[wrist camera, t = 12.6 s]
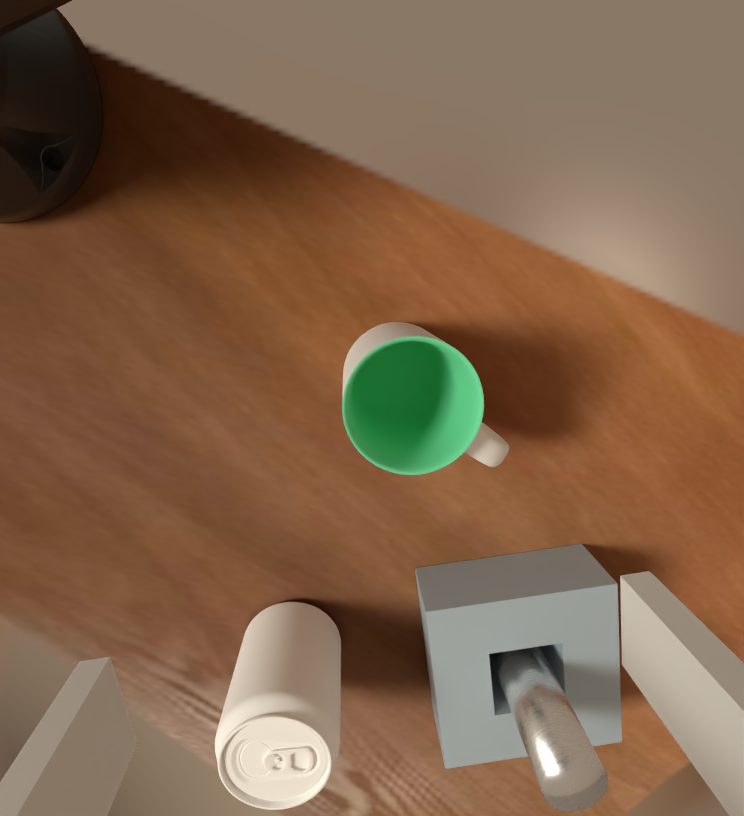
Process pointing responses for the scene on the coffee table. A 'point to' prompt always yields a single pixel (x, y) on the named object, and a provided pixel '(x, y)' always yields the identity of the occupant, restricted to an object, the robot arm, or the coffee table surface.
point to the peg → (550, 731)
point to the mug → (414, 402)
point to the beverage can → (282, 708)
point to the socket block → (518, 645)
